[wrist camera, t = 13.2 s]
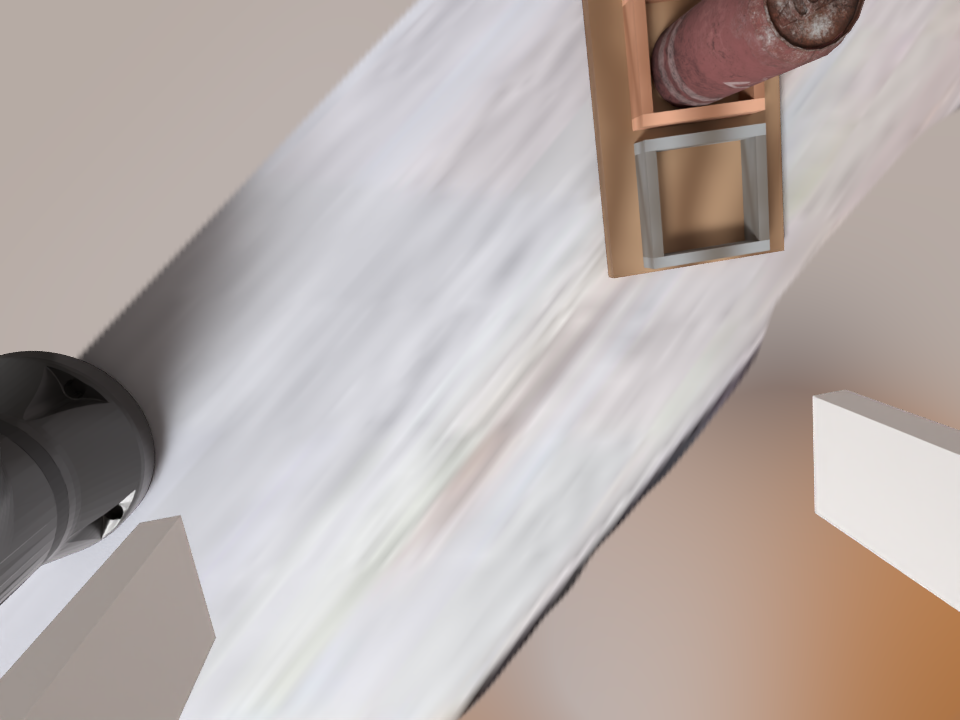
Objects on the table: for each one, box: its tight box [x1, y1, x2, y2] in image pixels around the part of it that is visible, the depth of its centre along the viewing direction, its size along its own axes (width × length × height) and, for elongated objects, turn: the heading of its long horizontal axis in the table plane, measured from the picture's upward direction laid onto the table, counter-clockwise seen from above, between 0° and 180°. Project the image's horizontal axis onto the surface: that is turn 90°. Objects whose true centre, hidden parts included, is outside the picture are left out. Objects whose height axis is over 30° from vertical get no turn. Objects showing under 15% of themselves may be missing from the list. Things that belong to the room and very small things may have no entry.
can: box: [651, 0, 865, 109], centre depth 37 cm, size 6×6×14 cm
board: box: [582, 0, 784, 278], centre depth 44 cm, size 14×20×3 cm
